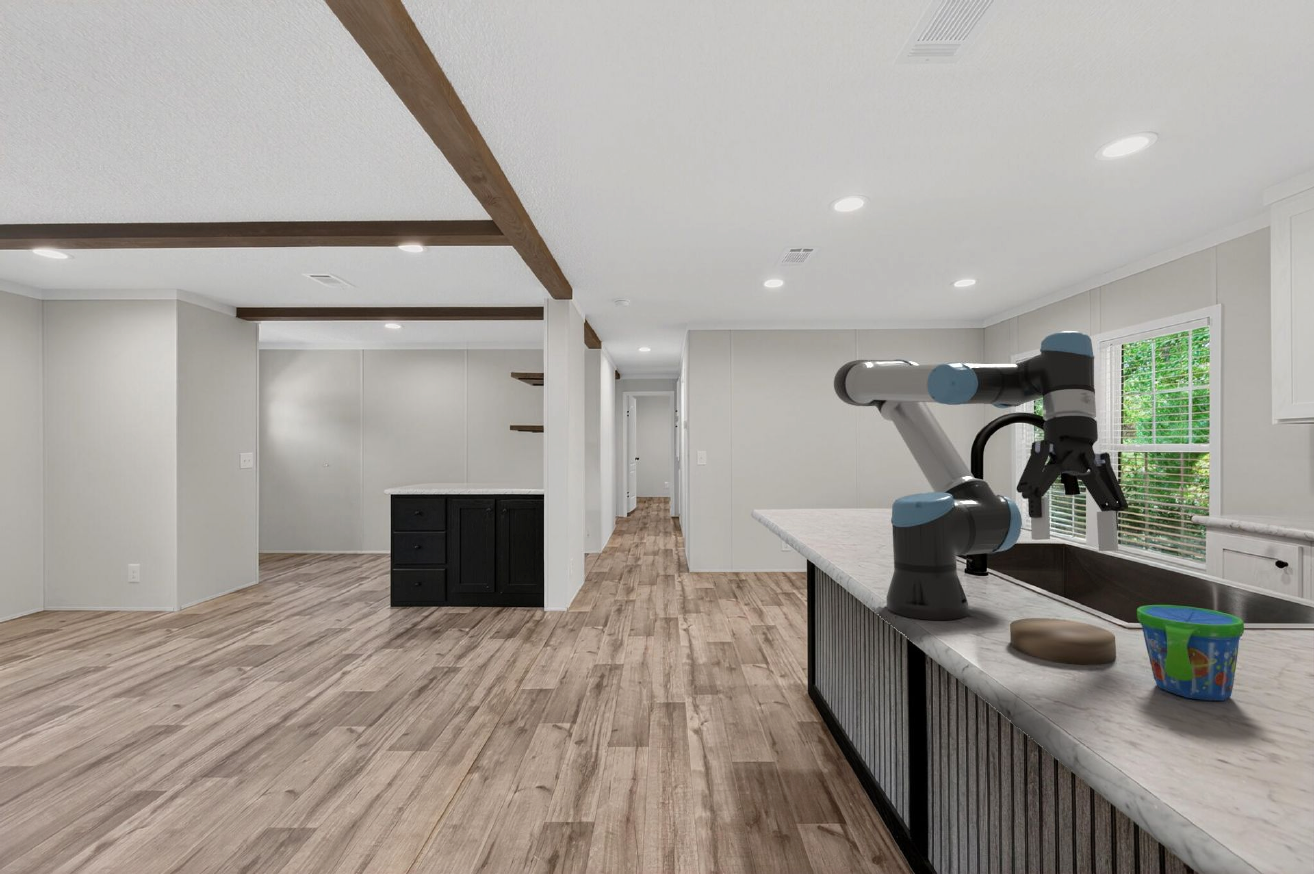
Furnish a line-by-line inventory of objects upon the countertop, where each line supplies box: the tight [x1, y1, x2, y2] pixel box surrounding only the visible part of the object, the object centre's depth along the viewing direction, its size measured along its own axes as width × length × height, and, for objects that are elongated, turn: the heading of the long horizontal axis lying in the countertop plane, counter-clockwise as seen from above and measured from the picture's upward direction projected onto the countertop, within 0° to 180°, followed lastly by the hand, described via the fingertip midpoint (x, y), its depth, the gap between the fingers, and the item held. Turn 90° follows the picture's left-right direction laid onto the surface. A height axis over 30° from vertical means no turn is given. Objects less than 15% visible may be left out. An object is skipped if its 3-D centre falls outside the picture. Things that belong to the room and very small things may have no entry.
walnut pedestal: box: [1009, 617, 1117, 666], centre depth 96 cm, size 14×14×3 cm
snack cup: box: [1136, 604, 1245, 702], centre depth 78 cm, size 16×10×10 cm
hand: (1075, 545), depth 96 cm, fingers open, 13 cm apart
